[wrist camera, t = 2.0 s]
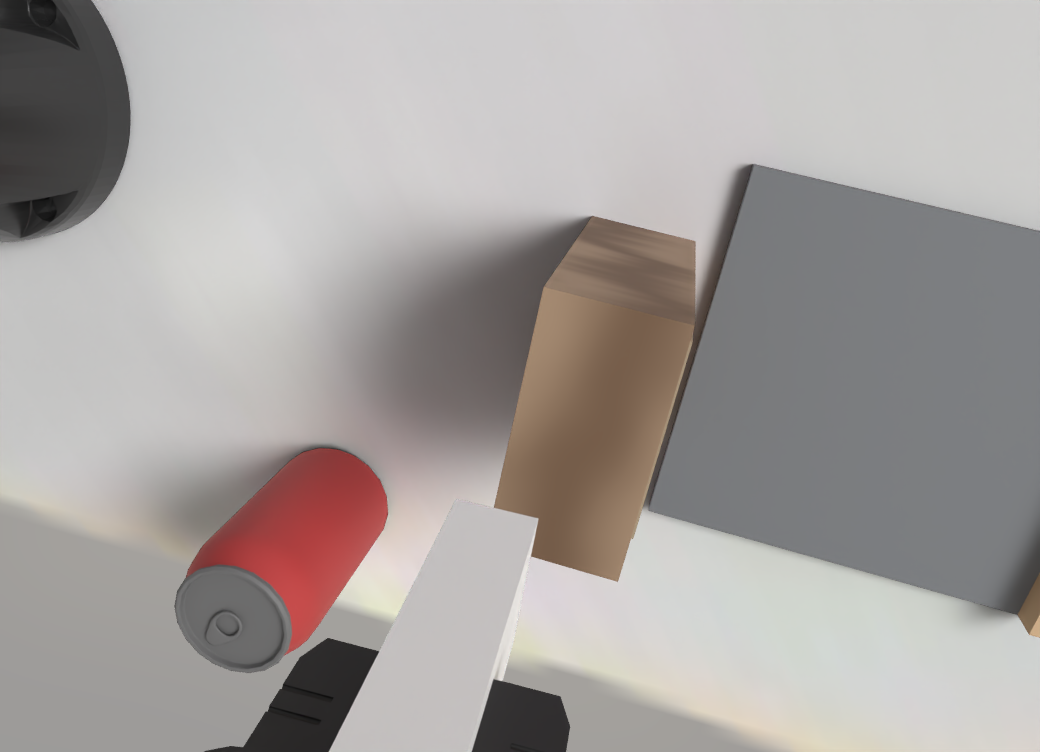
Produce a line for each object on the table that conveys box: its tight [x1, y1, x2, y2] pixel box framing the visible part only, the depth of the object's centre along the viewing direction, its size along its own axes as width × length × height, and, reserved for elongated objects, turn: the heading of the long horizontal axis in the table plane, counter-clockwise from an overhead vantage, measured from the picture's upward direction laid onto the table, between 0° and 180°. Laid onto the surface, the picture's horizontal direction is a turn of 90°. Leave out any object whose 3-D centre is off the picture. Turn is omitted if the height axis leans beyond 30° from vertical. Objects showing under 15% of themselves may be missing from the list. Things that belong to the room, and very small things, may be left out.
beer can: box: [175, 448, 388, 673], centre depth 43 cm, size 7×7×12 cm
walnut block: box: [494, 216, 695, 582], centre depth 36 cm, size 5×10×14 cm, turn 168°
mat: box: [649, 164, 1040, 638], centre depth 39 cm, size 20×18×2 cm
